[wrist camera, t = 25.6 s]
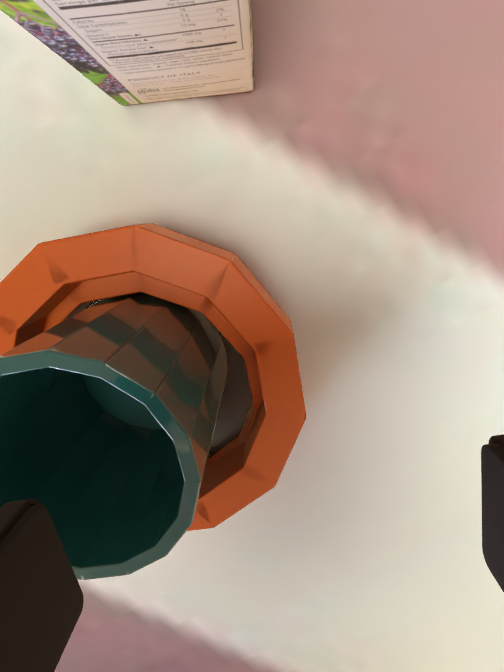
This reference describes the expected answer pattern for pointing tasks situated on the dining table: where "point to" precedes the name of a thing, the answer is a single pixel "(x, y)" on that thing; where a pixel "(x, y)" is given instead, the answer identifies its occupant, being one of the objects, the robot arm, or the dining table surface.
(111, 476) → the tumbler
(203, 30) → the syrup box
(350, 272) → the dining table surface
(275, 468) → the orange ring
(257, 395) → the orange ring
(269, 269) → the dining table surface
